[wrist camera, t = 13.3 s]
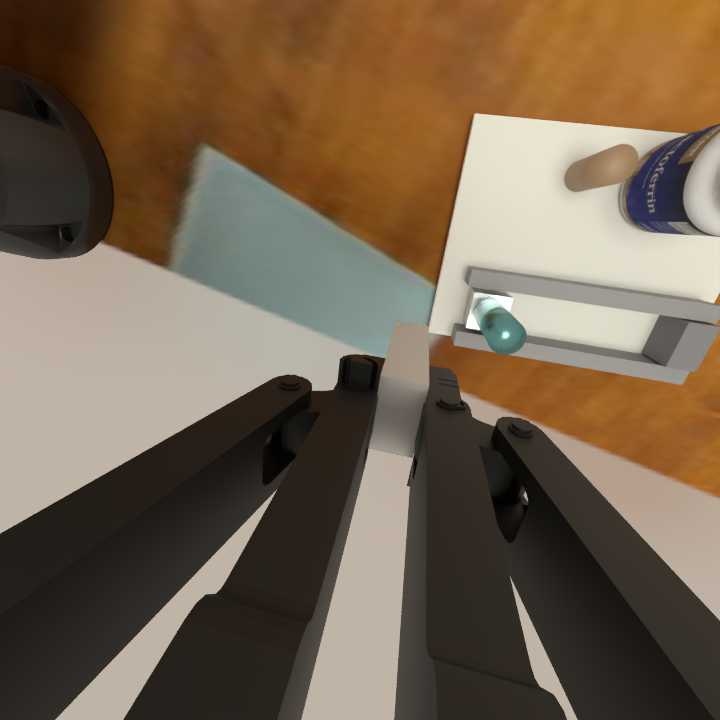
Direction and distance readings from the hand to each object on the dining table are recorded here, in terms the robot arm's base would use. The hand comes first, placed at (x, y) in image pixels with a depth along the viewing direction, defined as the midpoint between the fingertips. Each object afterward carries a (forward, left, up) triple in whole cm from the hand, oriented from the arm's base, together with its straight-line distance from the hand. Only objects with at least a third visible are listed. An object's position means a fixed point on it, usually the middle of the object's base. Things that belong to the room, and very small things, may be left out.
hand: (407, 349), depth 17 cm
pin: (+6, 0, -13) cm, 14 cm away
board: (+12, +5, -14) cm, 19 cm away
